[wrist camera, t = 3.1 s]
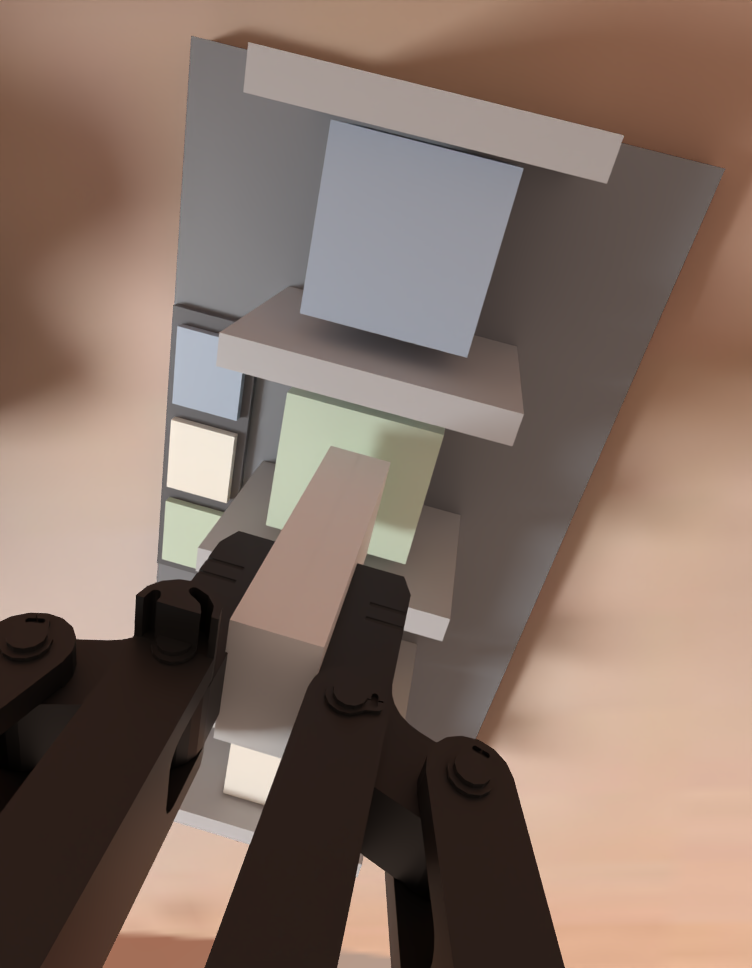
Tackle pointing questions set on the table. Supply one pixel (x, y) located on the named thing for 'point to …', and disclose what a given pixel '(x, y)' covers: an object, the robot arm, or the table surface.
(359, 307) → the key slate
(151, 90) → the table surface
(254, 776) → the key cream
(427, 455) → the key sage
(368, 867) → the table surface
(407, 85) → the grey slotted rack
